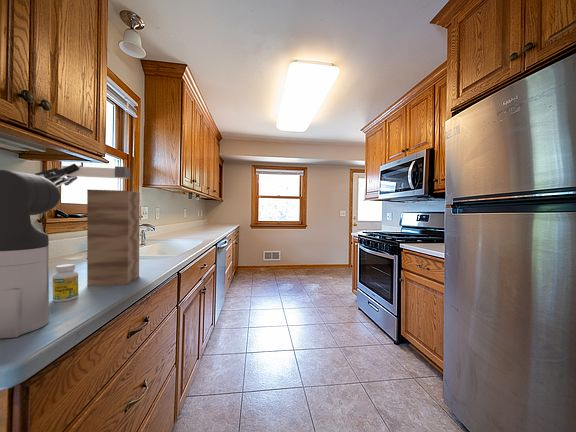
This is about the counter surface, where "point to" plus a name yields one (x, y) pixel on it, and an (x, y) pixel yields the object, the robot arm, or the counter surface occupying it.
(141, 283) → the counter surface
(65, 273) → the supplement bottle
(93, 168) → the white bar
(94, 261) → the walnut stand
